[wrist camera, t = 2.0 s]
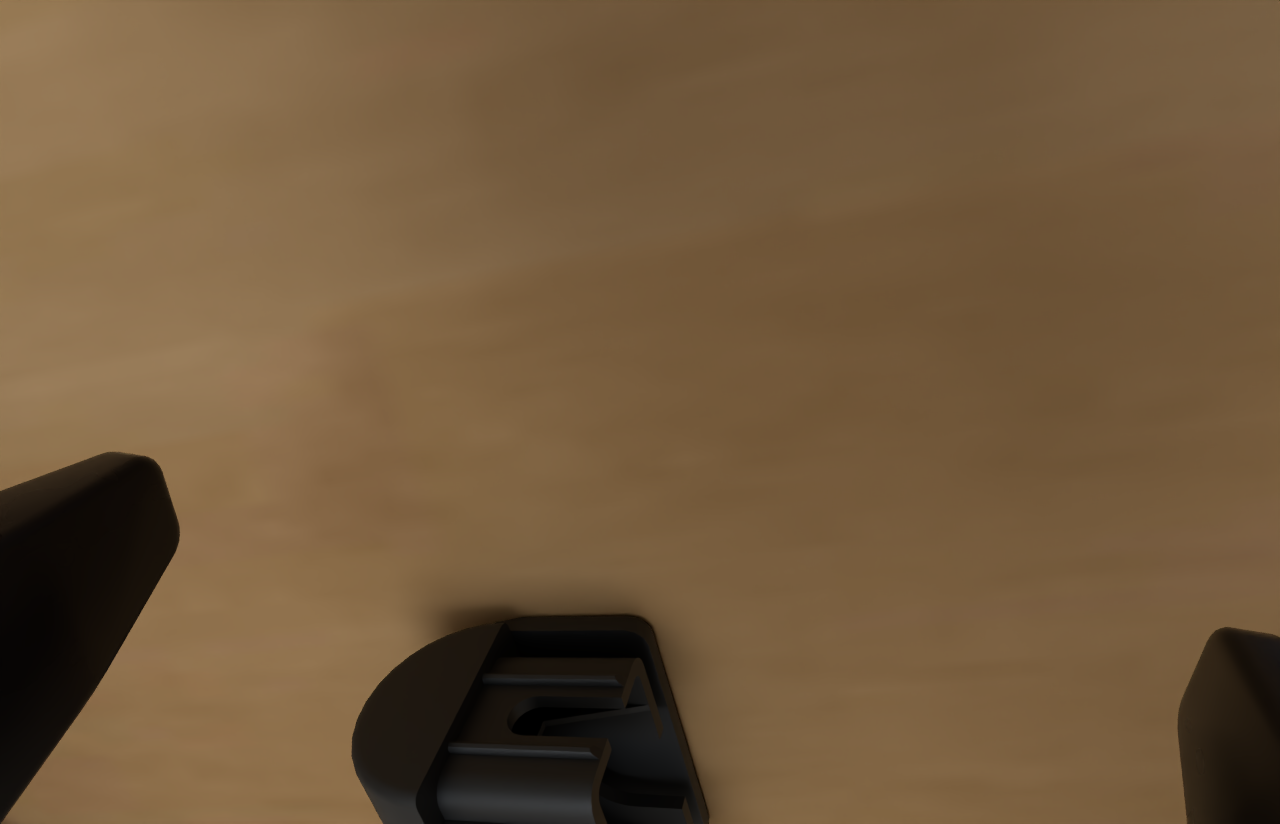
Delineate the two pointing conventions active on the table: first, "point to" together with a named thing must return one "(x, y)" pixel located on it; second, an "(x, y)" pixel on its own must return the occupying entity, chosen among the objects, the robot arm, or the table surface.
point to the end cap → (529, 729)
